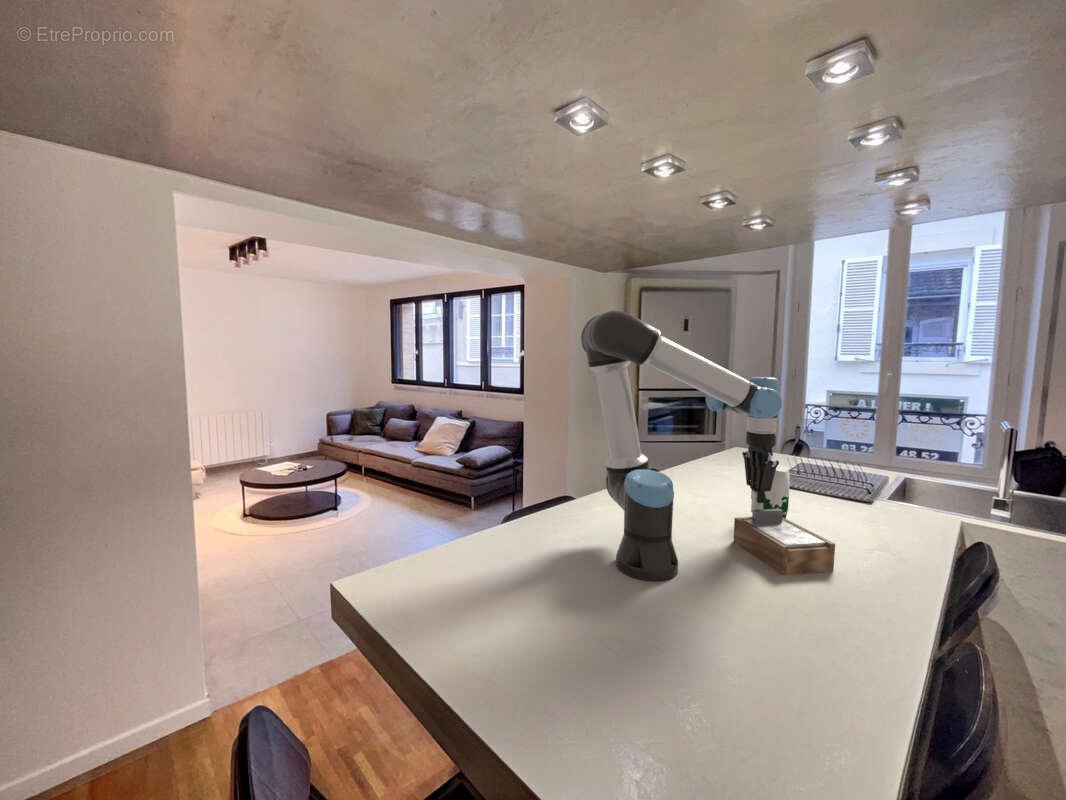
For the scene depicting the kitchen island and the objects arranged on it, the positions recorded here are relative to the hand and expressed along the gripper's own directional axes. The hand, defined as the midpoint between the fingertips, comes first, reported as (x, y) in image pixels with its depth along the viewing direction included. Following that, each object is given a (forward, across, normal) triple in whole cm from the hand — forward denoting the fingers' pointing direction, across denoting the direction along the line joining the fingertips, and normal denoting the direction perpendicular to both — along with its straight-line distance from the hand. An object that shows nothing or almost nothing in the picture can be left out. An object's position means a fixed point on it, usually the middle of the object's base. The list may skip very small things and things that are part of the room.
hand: (756, 512), depth 128 cm
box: (+8, -10, 0) cm, 13 cm away
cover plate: (+2, -10, 0) cm, 11 cm away
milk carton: (+8, +12, -14) cm, 21 cm away
